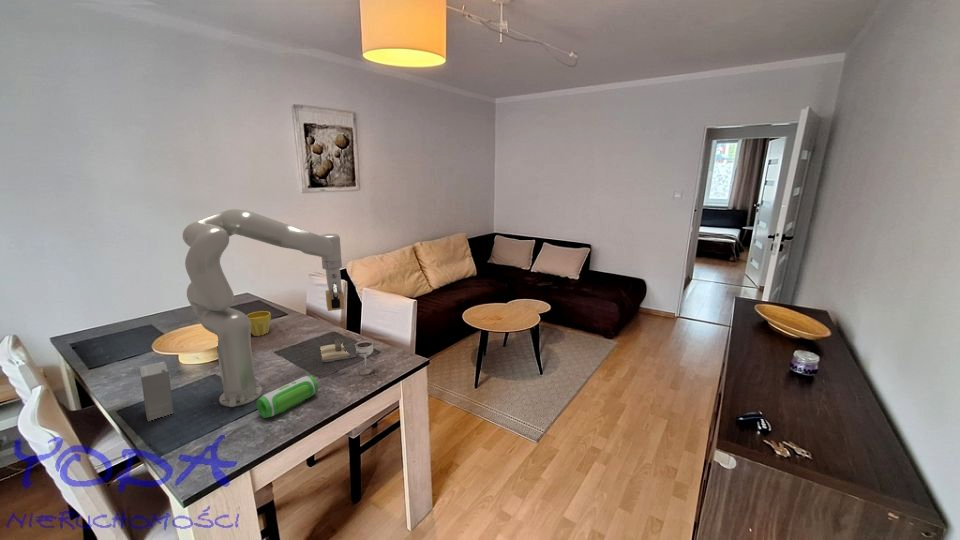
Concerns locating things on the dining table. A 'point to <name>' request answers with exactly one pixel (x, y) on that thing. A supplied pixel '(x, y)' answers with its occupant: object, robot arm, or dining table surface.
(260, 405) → the speaker
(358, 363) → the dining table surface
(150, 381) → the skincare box
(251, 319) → the plant pot
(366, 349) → the wineglass
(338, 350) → the holder
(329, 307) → the tan block
